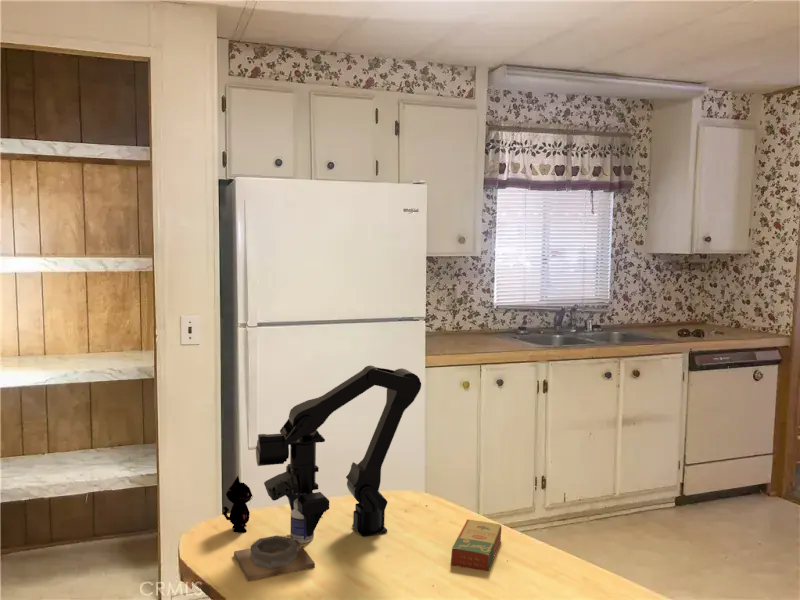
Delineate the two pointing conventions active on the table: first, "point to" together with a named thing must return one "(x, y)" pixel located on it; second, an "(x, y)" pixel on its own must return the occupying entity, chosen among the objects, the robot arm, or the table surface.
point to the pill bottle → (298, 526)
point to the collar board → (273, 558)
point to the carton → (476, 545)
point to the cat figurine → (238, 505)
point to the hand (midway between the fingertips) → (302, 527)
